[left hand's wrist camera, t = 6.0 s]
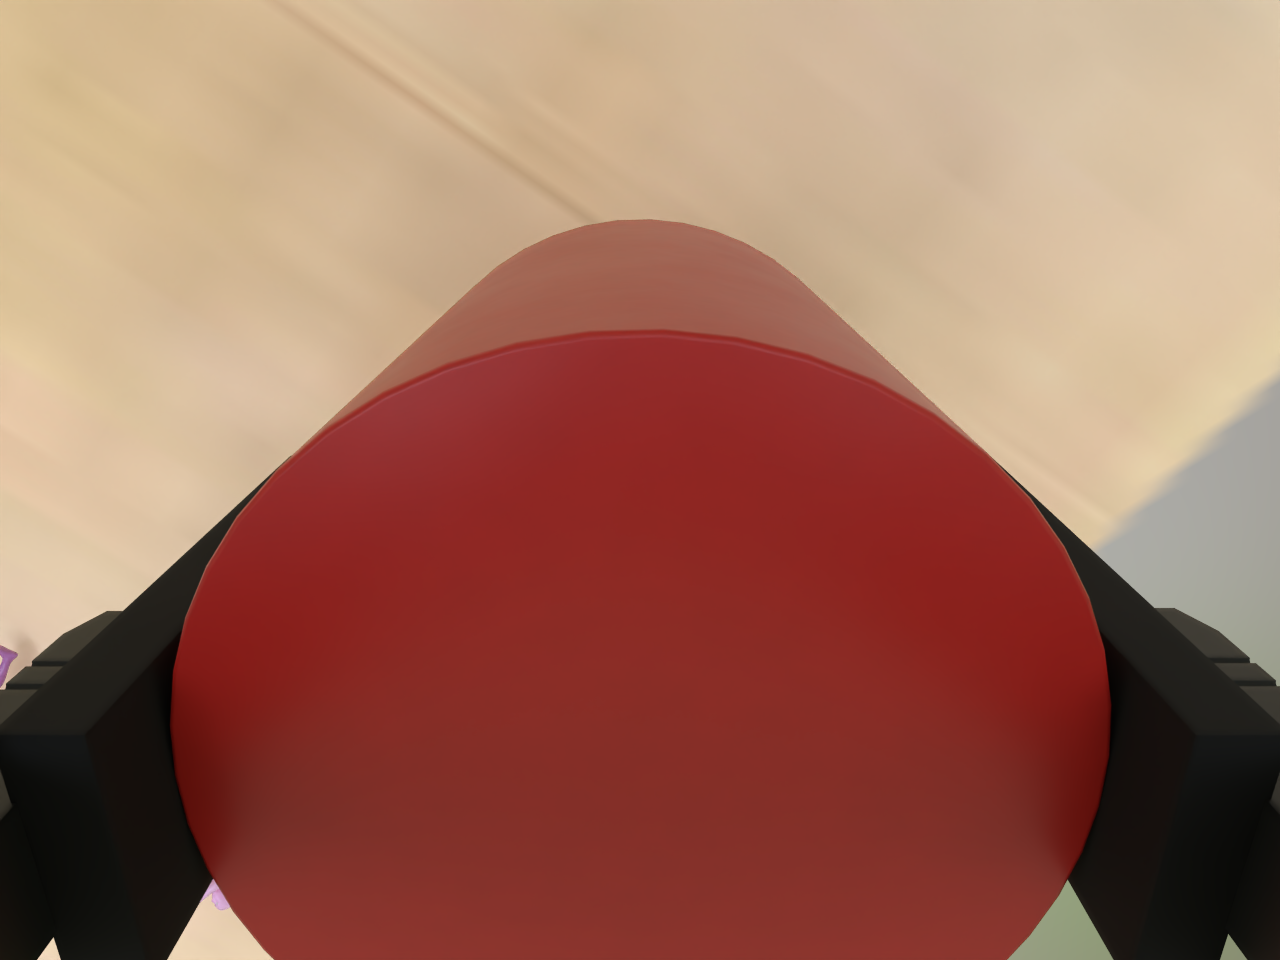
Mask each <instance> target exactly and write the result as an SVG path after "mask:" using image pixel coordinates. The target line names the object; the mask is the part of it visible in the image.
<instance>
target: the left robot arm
mask: <svg viewBox="0 0 1280 960" xmlns="http://www.w3.org/2000/svg"><path fill="white" fill-rule="evenodd" d="M290 457H291V456H290ZM290 457H289V458H290ZM990 457H991V456H990ZM289 458H288V459H289ZM991 458H992V457H991ZM288 459H287V460H288ZM992 459H993V458H992ZM287 460H286V461H287ZM993 460H994V459H993ZM286 461H285V462H286ZM994 461H995V460H994ZM995 462H996V461H995ZM996 463H997V462H996ZM282 464H283V463H282ZM282 464H281V465H282ZM997 464H998V463H997ZM281 465H280V466H281ZM998 465H999V464H998ZM280 466H279V467H280ZM999 466H1000V465H999ZM279 467H278V468H279ZM1000 467H1001V466H1000ZM278 468H277V469H278ZM1001 468H1002V469H1003V470H1004V471H1005V472H1006V473H1007V474H1008V475H1009V476H1010V477H1011V478H1012V479H1013V480H1014V481H1015V482H1016V484H1017V485H1018V486H1019V487H1020V488H1021V489H1022V490H1023V491H1024V492H1025V493H1026V494H1027V495H1028V496H1029V497H1030V498H1031V500H1032V501H1033V502H1034V504H1035V505H1036V507H1037V508H1038V510H1039V511H1040V512H1041V514H1042V515H1043V517H1044V518H1045V520H1046V521H1047V522H1048V524H1049V525H1050V527H1051V528H1052V529H1053V531H1054V532H1055V534H1056V535H1057V537H1058V538H1059V539H1060V541H1061V542H1062V544H1063V545H1064V547H1065V549H1066V551H1067V553H1068V555H1069V557H1070V559H1071V561H1072V563H1073V565H1074V567H1075V569H1076V571H1077V573H1078V576H1079V578H1080V580H1081V582H1082V584H1083V586H1084V588H1085V590H1086V592H1087V594H1088V596H1089V599H1090V602H1091V605H1092V609H1093V612H1094V616H1095V619H1096V622H1097V626H1098V629H1099V632H1100V636H1101V639H1102V643H1103V646H1104V649H1105V657H1106V665H1107V673H1108V681H1109V690H1110V698H1111V726H1110V751H1109V760H1108V765H1107V770H1106V775H1105V780H1104V785H1103V790H1102V795H1101V800H1100V805H1099V808H1098V810H1097V813H1096V816H1095V819H1094V821H1093V824H1092V827H1091V830H1090V832H1089V835H1088V838H1087V840H1086V843H1085V846H1084V849H1083V851H1082V853H1081V855H1080V857H1079V859H1078V861H1077V863H1076V865H1075V866H1074V868H1073V870H1072V872H1071V874H1070V876H1069V878H1068V881H1069V883H1070V884H1071V886H1072V888H1073V890H1074V891H1075V893H1076V895H1077V896H1078V898H1079V900H1080V902H1081V903H1082V905H1083V907H1084V909H1085V910H1086V912H1087V914H1088V916H1089V917H1090V919H1091V921H1092V923H1093V924H1094V926H1095V928H1096V930H1097V931H1098V933H1099V935H1100V937H1101V938H1102V940H1103V942H1104V944H1105V945H1106V947H1107V949H1108V951H1109V952H1110V954H1111V956H1112V958H1113V959H1114V960H1220V958H1221V955H1222V951H1223V948H1224V945H1225V942H1226V939H1227V936H1228V934H1229V935H1230V937H1231V938H1232V939H1233V941H1234V942H1235V943H1236V945H1237V946H1238V947H1239V949H1240V950H1241V951H1242V953H1243V954H1244V956H1245V957H1246V958H1247V960H1280V686H1276V680H1275V679H1273V678H1272V677H1271V676H1270V675H1269V674H1268V673H1267V672H1265V671H1264V670H1263V669H1262V668H1261V667H1260V666H1258V665H1257V664H1256V663H1250V658H1249V657H1248V656H1247V655H1246V654H1245V653H1243V652H1242V651H1241V650H1240V649H1239V648H1238V647H1236V646H1235V645H1234V644H1233V643H1232V642H1231V641H1229V640H1228V639H1227V638H1226V637H1225V636H1224V635H1222V634H1221V633H1220V632H1219V631H1217V630H1216V629H1214V628H1212V627H1210V626H1208V625H1206V624H1204V623H1202V622H1200V621H1198V620H1196V619H1194V618H1192V617H1190V616H1188V615H1187V614H1185V613H1183V612H1181V611H1179V610H1177V609H1175V608H1154V607H1153V606H1152V605H1150V604H1149V603H1148V602H1147V601H1146V600H1145V599H1144V598H1143V597H1142V596H1141V595H1140V594H1139V593H1138V592H1136V591H1135V590H1134V589H1133V588H1132V587H1131V586H1130V585H1129V584H1128V583H1127V582H1126V581H1125V580H1123V579H1122V578H1121V577H1120V576H1119V575H1118V574H1117V573H1116V572H1115V571H1114V570H1113V569H1112V568H1111V567H1109V566H1108V565H1107V564H1106V563H1105V562H1104V561H1103V560H1102V559H1101V558H1100V557H1099V556H1098V555H1097V554H1095V553H1094V552H1093V551H1092V550H1091V549H1090V548H1089V547H1088V546H1087V545H1086V544H1085V543H1084V542H1082V541H1081V540H1080V539H1079V538H1078V537H1077V536H1076V535H1075V534H1074V533H1073V532H1072V531H1071V530H1070V529H1068V528H1067V527H1066V526H1065V525H1064V524H1063V523H1062V522H1061V521H1060V520H1059V519H1058V518H1057V517H1055V516H1054V515H1053V514H1052V513H1051V512H1050V511H1049V510H1048V509H1047V508H1046V507H1045V506H1044V505H1042V504H1041V503H1040V502H1039V501H1038V500H1037V499H1036V498H1035V497H1034V496H1033V495H1032V494H1031V493H1030V492H1028V491H1027V490H1026V489H1025V488H1024V487H1023V486H1022V485H1021V484H1020V483H1019V482H1018V481H1017V480H1015V479H1014V478H1013V477H1012V476H1011V475H1010V474H1009V473H1008V472H1007V471H1006V470H1005V469H1004V468H1003V467H1001ZM277 469H276V470H277ZM276 470H275V471H276ZM275 471H274V472H275ZM274 472H273V473H272V474H271V475H269V476H268V477H267V478H266V479H265V480H264V481H263V482H262V483H261V484H260V485H259V486H258V487H257V488H255V489H254V490H253V491H252V492H251V493H250V494H249V495H248V496H247V497H246V498H245V499H244V500H242V501H241V502H240V503H239V504H238V505H237V506H236V507H235V508H234V509H233V510H232V511H231V512H230V513H228V514H227V515H226V516H225V517H224V518H223V519H222V520H221V521H220V522H219V523H218V524H217V525H215V526H214V527H213V528H212V529H211V530H210V531H209V532H208V533H207V534H206V535H205V536H204V537H203V538H201V539H200V540H199V541H198V542H197V543H196V544H195V545H194V546H193V547H192V548H191V549H190V550H188V551H187V552H186V553H185V554H184V555H183V556H182V557H181V558H180V559H179V560H178V561H177V562H176V563H174V564H173V565H172V566H171V567H170V568H169V569H168V570H167V571H166V572H165V573H164V574H163V575H161V576H160V577H159V578H158V579H157V580H156V581H155V582H154V583H153V584H152V585H151V586H150V587H149V588H147V589H146V590H145V591H144V592H143V593H142V594H141V595H140V596H139V597H138V598H137V599H136V600H134V601H133V602H132V603H131V604H130V605H129V606H128V607H127V608H126V609H125V610H124V611H106V612H105V613H103V614H101V615H99V616H97V617H95V618H93V619H91V620H89V621H87V622H85V623H84V624H82V625H80V626H78V627H76V628H74V629H72V630H70V631H68V632H66V633H64V634H63V635H62V636H60V637H59V638H58V639H57V640H56V641H55V642H54V643H52V644H51V645H50V646H49V647H48V648H47V649H45V650H44V651H43V652H42V653H41V654H40V655H39V656H37V657H36V658H35V659H34V660H33V661H32V666H31V667H25V668H24V669H22V670H21V671H20V672H19V673H18V674H17V675H16V676H14V677H13V678H12V679H11V680H10V681H9V682H8V683H6V689H5V690H0V960H37V959H38V958H39V956H40V955H41V953H42V952H43V951H44V949H45V948H46V947H47V945H48V944H49V942H50V941H51V940H52V938H53V937H54V940H55V943H56V946H57V949H58V952H59V955H60V958H61V960H167V959H168V957H169V955H170V954H171V952H172V950H173V948H174V947H175V945H176V943H177V941H178V940H179V938H180V936H181V934H182V933H183V931H184V929H185V927H186V926H187V924H188V922H189V920H190V919H191V917H192V915H193V913H194V912H195V910H196V908H197V906H198V905H199V903H200V901H201V899H202V898H203V896H204V894H205V892H206V891H207V889H208V887H209V885H210V884H211V882H212V880H213V878H212V876H211V874H210V873H209V871H208V869H207V867H206V865H205V862H204V860H203V858H202V855H201V853H200V851H199V849H198V846H197V844H196V842H195V839H194V837H193V835H192V832H191V830H190V828H189V825H188V823H187V819H186V815H185V811H184V807H183V804H182V800H181V796H180V792H179V788H178V785H177V781H176V777H175V770H174V760H173V750H172V741H171V731H170V715H171V698H172V681H173V669H174V665H175V660H176V656H177V652H178V647H179V643H180V638H181V634H182V630H183V625H184V621H185V617H186V615H187V612H188V610H189V607H190V605H191V602H192V600H193V597H194V595H195V593H196V590H197V588H198V585H199V583H200V580H201V578H202V575H203V573H204V571H205V568H206V566H207V564H208V563H209V561H210V559H211V558H212V556H213V554H214V553H215V551H216V550H217V548H218V546H219V545H220V543H221V541H222V540H223V538H224V536H225V535H226V533H227V532H228V530H229V528H230V527H231V525H232V523H233V522H234V520H235V519H236V517H237V516H238V514H239V513H240V512H241V511H242V510H243V509H244V507H245V506H246V505H247V504H248V503H249V502H250V500H251V499H252V498H253V497H254V496H255V495H256V493H257V492H258V491H259V490H260V489H261V488H262V486H263V485H264V484H265V483H266V482H267V481H268V479H269V478H270V477H271V476H272V475H273V474H274Z"/></svg>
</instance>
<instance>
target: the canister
mask: <svg viewBox="0 0 1280 960" xmlns="http://www.w3.org/2000/svg"><path fill="white" fill-rule="evenodd" d="M1110 726H1111V698H1110V690H1109V681H1108V673H1107V665H1106V657H1105V649H1104V646H1103V643H1102V639H1101V636H1100V632H1099V629H1098V626H1097V622H1096V619H1095V616H1094V612H1093V609H1092V605H1091V602H1090V599H1089V596H1088V594H1087V592H1086V590H1085V588H1084V586H1083V584H1082V582H1081V580H1080V578H1079V576H1078V573H1077V571H1076V569H1075V567H1074V565H1073V563H1072V561H1071V559H1070V557H1069V555H1068V553H1067V551H1066V549H1065V547H1064V545H1063V544H1062V542H1061V541H1060V539H1059V538H1058V537H1057V535H1056V534H1055V532H1054V531H1053V529H1052V528H1051V527H1050V525H1049V524H1048V522H1047V521H1046V520H1045V518H1044V517H1043V515H1042V514H1041V512H1040V511H1039V510H1038V508H1037V507H1036V505H1035V504H1034V502H1033V501H1032V500H1031V498H1030V497H1029V496H1028V495H1027V494H1026V493H1025V492H1024V491H1023V490H1022V489H1021V488H1020V487H1019V486H1018V485H1017V484H1016V482H1015V481H1014V480H1013V479H1012V478H1011V477H1010V476H1009V475H1008V474H1007V473H1006V472H1005V471H1004V470H1003V469H1002V468H1001V467H1000V466H999V465H998V464H997V463H996V462H995V461H994V460H993V459H992V458H991V457H990V456H989V455H988V453H987V452H985V451H984V450H983V449H982V448H981V447H980V446H979V445H978V444H977V443H976V442H975V441H974V440H972V439H971V438H970V437H969V436H968V435H967V434H966V433H965V432H964V431H963V430H962V429H961V428H959V427H958V426H957V425H956V424H955V423H954V422H953V421H952V420H951V419H950V418H949V417H948V416H946V415H945V414H944V413H943V412H942V411H941V410H940V409H939V408H938V407H937V406H936V405H935V404H934V403H932V402H931V401H930V400H929V399H928V398H927V397H926V396H925V395H924V394H923V393H922V392H921V391H919V390H918V389H917V388H916V387H915V386H914V385H913V384H912V383H911V382H910V381H909V380H908V379H906V378H905V377H904V376H903V375H902V374H901V373H900V372H899V371H898V370H897V369H896V368H895V367H893V366H892V365H891V364H890V363H889V362H888V361H887V360H886V359H885V358H884V357H883V356H882V355H880V354H879V353H878V352H877V351H876V350H875V349H874V348H873V347H872V346H871V345H870V344H869V343H867V342H866V341H865V340H864V339H863V338H862V337H861V336H860V335H859V334H858V333H857V332H856V331H854V330H853V329H852V328H851V327H850V326H849V325H848V324H847V323H846V322H845V321H844V320H843V319H841V318H840V317H839V316H838V315H837V314H836V313H835V312H834V311H833V310H832V309H831V308H830V307H828V306H827V305H826V304H825V303H824V302H823V301H822V300H821V299H820V298H819V297H818V296H817V295H816V294H814V293H813V292H812V291H811V290H810V289H809V288H808V287H807V286H806V285H805V284H804V283H803V282H801V281H800V280H799V279H798V278H797V277H796V276H794V275H793V274H792V273H790V272H789V271H788V270H787V269H785V268H784V267H783V266H781V265H780V264H779V263H777V262H776V261H775V260H774V259H772V258H770V257H768V256H767V255H765V254H763V253H762V252H760V251H758V250H756V249H755V248H753V247H751V246H749V245H748V244H746V243H743V242H741V241H738V240H736V239H734V238H731V237H729V236H726V235H724V234H721V233H719V232H716V231H713V230H709V229H705V228H701V227H697V226H693V225H689V224H685V223H678V222H668V221H659V220H617V221H611V222H605V223H599V224H592V225H586V226H582V227H579V228H576V229H573V230H569V231H566V232H563V233H560V234H556V235H553V236H551V237H549V238H547V239H545V240H543V241H541V242H538V243H536V244H534V245H532V246H530V247H528V248H525V249H524V250H522V251H521V252H519V253H517V254H516V255H514V256H513V257H511V258H510V259H508V260H507V261H505V262H503V263H502V264H500V265H499V266H497V267H496V268H495V269H494V270H493V271H492V272H490V273H489V274H488V275H487V276H486V277H485V278H483V279H482V280H481V281H480V282H479V283H478V284H477V285H475V286H474V287H473V288H472V289H471V290H470V291H469V292H468V293H467V294H466V295H464V296H463V297H462V298H461V299H460V300H459V301H458V302H457V303H456V304H455V305H454V306H453V307H452V308H450V309H449V310H448V311H447V312H446V313H445V314H444V315H443V316H442V317H441V318H440V319H439V320H438V321H436V322H435V323H434V324H433V325H432V326H431V327H430V328H429V329H428V330H427V331H426V332H425V333H424V334H422V335H421V336H420V337H419V338H418V339H417V340H416V341H415V342H414V343H413V344H412V345H411V346H409V347H408V348H407V349H406V350H405V351H404V352H403V353H402V354H401V355H400V356H399V357H398V358H397V359H395V360H394V361H393V362H392V363H391V364H390V365H389V366H388V367H387V368H386V369H385V370H384V371H383V372H381V373H380V374H379V375H378V376H377V377H376V378H375V379H374V380H373V381H372V382H371V383H370V384H369V385H367V386H366V387H365V388H364V389H363V390H362V391H361V392H360V393H359V394H358V395H357V396H356V397H355V398H353V399H352V400H351V401H350V402H349V403H348V404H347V405H346V406H345V407H344V408H343V409H342V410H341V411H339V412H338V413H337V414H336V415H335V416H334V417H333V418H332V419H331V420H330V421H329V422H328V423H327V424H325V425H324V426H323V427H322V428H321V429H320V430H319V431H318V432H317V433H316V434H315V435H314V436H313V437H311V438H310V439H309V440H308V441H307V442H306V443H305V444H304V445H303V446H302V447H301V448H300V449H299V450H297V451H296V452H295V453H294V454H293V455H292V456H291V457H290V458H289V459H288V460H287V461H286V462H284V463H283V464H282V465H281V466H280V467H279V468H278V469H277V470H276V471H275V472H274V474H273V475H272V476H271V477H270V478H269V479H268V481H267V482H266V483H265V484H264V485H263V486H262V488H261V489H260V490H259V491H258V492H257V493H256V495H255V496H254V497H253V498H252V499H251V500H250V502H249V503H248V504H247V505H246V506H245V507H244V509H243V510H242V511H241V512H240V513H239V514H238V516H237V517H236V519H235V520H234V522H233V523H232V525H231V527H230V528H229V530H228V532H227V533H226V535H225V536H224V538H223V540H222V541H221V543H220V545H219V546H218V548H217V550H216V551H215V553H214V554H213V556H212V558H211V559H210V561H209V563H208V564H207V566H206V568H205V571H204V573H203V575H202V578H201V580H200V583H199V585H198V588H197V590H196V593H195V595H194V597H193V600H192V602H191V605H190V607H189V610H188V612H187V615H186V617H185V621H184V625H183V630H182V634H181V638H180V643H179V647H178V652H177V656H176V660H175V665H174V669H173V681H172V698H171V715H170V731H171V741H172V750H173V760H174V770H175V777H176V781H177V785H178V788H179V792H180V796H181V800H182V804H183V807H184V811H185V815H186V819H187V823H188V825H189V828H190V830H191V832H192V835H193V837H194V839H195V842H196V844H197V846H198V849H199V851H200V853H201V855H202V858H203V860H204V862H205V865H206V867H207V869H208V871H209V873H210V874H211V876H212V878H213V879H214V881H215V882H216V884H217V886H218V887H219V889H220V891H221V892H222V894H223V896H224V897H225V899H226V901H227V902H228V904H229V905H230V907H231V909H232V910H233V912H234V913H235V914H236V916H237V917H238V918H239V919H240V921H241V922H242V923H243V924H244V926H245V927H246V928H247V929H248V930H249V932H250V933H251V934H252V935H253V937H254V938H255V939H256V940H257V942H258V943H259V944H260V945H261V947H262V948H263V949H264V950H265V951H266V952H267V953H268V954H269V955H270V956H271V957H272V958H273V959H274V960H1007V959H1008V958H1009V957H1010V956H1011V955H1012V954H1013V953H1014V952H1015V951H1016V950H1017V948H1018V947H1019V946H1020V945H1021V944H1022V943H1023V942H1024V941H1025V940H1026V939H1027V938H1028V937H1029V936H1030V934H1031V933H1032V932H1033V930H1034V929H1035V928H1036V926H1037V925H1038V923H1039V922H1040V921H1041V919H1042V918H1043V917H1044V915H1045V914H1046V912H1047V911H1048V910H1049V908H1050V907H1051V906H1052V904H1053V903H1054V901H1055V900H1056V899H1057V897H1058V896H1059V894H1060V892H1061V890H1062V889H1063V887H1064V885H1065V883H1066V881H1067V879H1068V878H1069V876H1070V874H1071V872H1072V870H1073V868H1074V866H1075V865H1076V863H1077V861H1078V859H1079V857H1080V855H1081V853H1082V851H1083V849H1084V846H1085V843H1086V840H1087V838H1088V835H1089V832H1090V830H1091V827H1092V824H1093V821H1094V819H1095V816H1096V813H1097V810H1098V808H1099V805H1100V800H1101V795H1102V790H1103V785H1104V780H1105V775H1106V770H1107V765H1108V760H1109V751H1110Z"/></svg>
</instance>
